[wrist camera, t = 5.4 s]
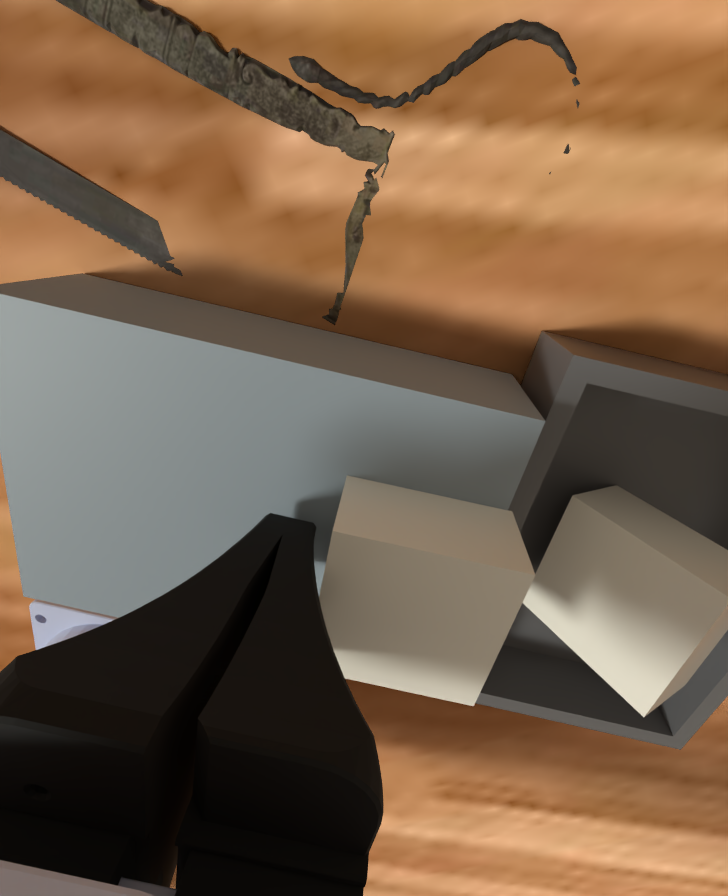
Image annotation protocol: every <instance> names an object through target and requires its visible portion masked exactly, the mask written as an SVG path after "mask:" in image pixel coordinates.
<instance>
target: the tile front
mask: <svg viewBox="0 0 728 896" xmlns="http://www.w3.org/2000/svg"><path fill="white" fill-rule="evenodd" d="M534 577H535V572H534V570H533V567H532V564H531V561H530V559H529V556H528V553H527V550H526V548H525V545H524V542H523V539H522V537H521V534H520V531H519V528H518V526H517V523H516V520H515V517H514V515H513V512H512V511H508V510H504V509H499V508H494V507H490V506H485V505H481V504H476V503H471V502H467V501H462V500H458V499H453V498H448V497H444V496H439V495H435V494H430V493H425V492H421V491H416V490H412V489H407V488H403V487H398V486H393V485H389V484H384V483H380V482H375V481H370V480H366V479H361V478H357V477H352V476H347V477H346V481H345V485H344V488H343V492H342V496H341V500H340V504H339V508H338V512H337V515H336V519H335V523H334V527H333V531H332V536H331V541H330V546H329V550H328V555H327V560H326V565H325V570H324V575H323V580H322V585H321V590H320V595H319V600H320V605H321V609H322V613H323V617H324V621H325V625H326V628H327V632H328V635H329V638H330V641H331V644H332V647H333V650H334V653H335V655H336V658H337V660H338V663H339V665H340V668H341V670H342V673H343V675H344V678H345V679H350V680H354V681H359V682H364V683H368V684H373V685H378V686H382V687H387V688H391V689H396V690H401V691H405V692H410V693H414V694H419V695H424V696H428V697H433V698H438V699H442V700H447V701H451V702H456V703H461V704H465V705H470V706H474V705H475V702H476V700H477V698H478V696H479V694H480V692H481V690H482V688H483V685H484V683H485V681H486V679H487V677H488V675H489V673H490V671H491V669H492V666H493V664H494V662H495V660H496V658H497V656H498V654H499V652H500V649H501V647H502V645H503V643H504V641H505V639H506V637H507V635H508V632H509V630H510V628H511V626H512V624H513V622H514V620H515V618H516V615H517V613H518V611H519V609H520V607H521V605H522V603H523V601H524V598H525V596H526V594H527V592H528V590H529V588H530V586H531V584H532V581H533V579H534Z"/></svg>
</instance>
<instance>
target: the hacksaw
mask: <svg viewBox="0 0 728 896" xmlns="http://www.w3.org/2000/svg"><path fill="white" fill-rule="evenodd" d="M56 1H58V2H59V3H61V4H63V5H65V6H66V7H68V8H70V9H71V10H73V11H75V12H77V13H78V14H80V15H82V16H83V17H85V18H87V19H89V20H90V21H92V22H94V23H95V24H97V25H99V26H101V27H102V28H104V29H106V30H107V31H109V32H111V33H113V34H115V35H117V36H118V37H120V38H121V39H122V40H124V41H126V42H128V43H129V44H131V45H133V46H135V47H137V48H140V49H141V50H142V51H143V52H144V53H146V54H148V55H150V56H152V57H154V58H156V59H158V60H159V61H161V62H163V63H164V64H166V65H168V66H169V67H171V68H172V69H174V70H176V71H178V72H179V73H181V74H183V75H185V76H187V77H189V78H190V79H192V80H194V81H196V82H198V83H200V84H201V85H203V86H205V87H207V88H209V89H211V90H213V91H214V92H216V93H218V94H220V95H222V96H224V97H226V98H228V99H229V100H231V101H233V102H235V103H236V104H238V105H240V106H242V107H244V108H246V109H248V110H251V111H253V112H255V113H257V114H259V115H261V116H263V117H265V118H267V119H269V120H271V121H273V122H275V123H277V124H279V125H281V126H284V127H286V128H289V129H292V130H295V131H298V132H301V131H302V130H303V131H304V132H306V133H307V134H309V136H310V138H311V139H313V140H314V141H316V142H319V143H321V144H323V145H326V146H335V147H338V148H340V149H341V151H342V152H344V151H345V152H346V154H347V155H348V156H350V157H352V158H354V159H356V160H362V161H369V162H374V163H376V164H378V166H377V167H376V168H375V169H374V170H373V169H368V170H367V172H366V174H365V176H366V178H367V180H368V181H367V182H364V187H365V189H364V190H362V191H360V192H358V197H357V199H356V202H355V204H354V206H353V209H352V211H351V213H350V216H349V218H348V220H347V223H346V229H345V240H346V267H345V280H344V293H337V297H336V301H335V305H334V307H333V309H329V315H326V316H323V318H324V319H326V320H327V321H329V322H330V323H332V324H334V325H335V323H336V321H337V318H338V314H339V310H340V309H341V308H340V306H341V303H342V301H343V298H344V295H345V292H346V289H347V286H348V283H349V280H350V277H351V274H352V271H353V268H354V265H355V262H356V259H357V256H358V253H359V250H360V247H361V244H362V241H363V227H362V223H363V221H364V218H365V216H366V215H371V211H370V201H371V200H372V198H373V197H374V196H375V195H376V193H377V192H378V191H379V186H378V182H377V179H376V178H375V180H374V178H373V176H372V174H371V173H372V172H373V171H374V173H375V174H376V172H377V171H378V170H379V168H380V167H381V166H382V165H383V163H384V162H385V163H386V166H385V168H384V171H383V173H382V176H381V177H382V178H383V175H384V172H385V170H386V168H387V165H388V162H389V159H388V154H387V153H388V151H389V148H390V145H391V143H392V140H393V138H394V135H395V134H394V132H393V131H392V132H391V133H388V132H387V131H386V130H385V129H384V128H383V129H382V130H379V129H377V128H375V127H373V126H360V125H359V124H358V123H357V121H356V119H355V117H354V116H353V115H352V114H351V113H349V112H347V111H346V110H344V109H342V108H336V107H334V106H332V105H330V104H329V103H327V102H325V101H324V100H323V99H322V98H320V97H318V96H317V95H315V94H314V93H312V92H311V91H309V90H307V89H306V88H304V87H302V86H301V85H299V84H297V83H295V82H294V81H292V80H291V79H289V78H287V77H285V76H284V75H282V74H280V73H278V72H276V71H275V70H273V69H271V68H269V67H267V66H266V65H264V64H262V63H260V62H258V61H256V60H255V59H252V58H250V57H247V56H245V55H244V53H242V54H241V55H240V56H239V55H238V50H237V48H232V49H231V51H230V52H229V53H228V54H227V53H226V52H225V51H223V50H222V49H221V48H220V47H219V46H218V44H217V43H216V41H215V40H214V38H213V37H212V36H211V35H210V34H208V33H207V32H205V31H204V32H199V31H198V30H197V29H196V28H195V27H194V26H193V25H192V24H190V23H189V22H187V21H186V20H184V19H183V18H182V17H180V16H178V15H176V14H174V13H172V12H170V11H169V10H167V9H166V8H165V7H163V6H159V5H154V4H152V3H151V2H149V1H147V0H56ZM515 38H516V39H518V40H529V39H532V40H534V41H536V42H538V43H541V44H545V45H548V46H550V47H551V48H552V49H553V51H554V52H555V53H556V54H557V55H558V56H559V57H561V58H563V59H564V61H565V63H566V66H567V69H568V70H569V71H570V73H572V74H575V75H576V69H577V67H576V65H575V63H574V61H573V59H572V56H571V54H570V52H569V50H568V49H567V47H566V46H565V44H564V42H563V40H562V38H561V37H560V35H559V33H558V32H556V31H554V30H552V29H550V28H548V27H546V26H544V25H542V24H540V23H539V22H528V21H525V20H522V19H520V20H518V21H516V22H514V23H505V24H503V25H501V26H499V27H498V28H496V29H495V30H493V31H491V32H489V33H487V34H486V35H484V36H483V37H481V38H480V39H478V40H477V41H476V42H475V43H474V44H473V46H472V47H471V48H470V49H468V50H466V51H464V52H463V53H462V54H461V55H460V56H459V57H458V59H457V60H456V61H453V62H451V63H449V64H448V65H447V66H446V67H445V68H444V69H443V71H442V72H441V73H440V74H437V75H434V76H432V77H431V78H430V79H429V80H428V81H427V82H425V83H424V84H422V85H420V86H418V87H417V88H415V89H414V90H413V92H412V93H411V95H410V97H409V94H408V93H407V92H404V93H402V94H401V95H400V96H398V97H397V98H396V99H393V98H391V97H390V96H383V97H379V98H378V97H377V96H376V95H375V94H374V93H363V92H362V91H361V90H360V89H359V88H357V87H353V86H350V85H348V84H347V83H345V82H343V81H342V80H340V79H338V78H337V77H335V76H334V75H332V74H331V73H329V72H328V71H326V70H324V69H322V68H321V67H320V65H319V64H318V63H317V62H316V61H315V60H314V59H311V58H308V57H305V56H294V57H291V58H289V61H290V63H291V66H292V68H293V70H294V71H295V73H296V74H297V75H298V76H299V77H300V78H302V79H303V80H305V81H306V82H309V83H319V84H320V85H321V86H322V87H323V88H326V89H329V90H332V91H335V92H336V93H338V94H339V95H341V96H344V97H349V98H354V99H355V100H356V101H357V102H358V103H365V104H366V103H371V104H372V106H373V107H374V108H376V109H377V108H381V107H386V106H390V107H393V108H397V107H400V106H402V105H403V104H404V103H406V102H407V101H409V102H413V103H414V101H415V100H416V99H417V98H418V97H419V96H420V95H422V94H424V95H429V94H430V92H431V91H432V90H433V89H434V88H435V87H437V86H440V85H442V84H445V83H446V82H447V81H448V80H449V79H450V78H451V77H452V76H457V75H458V74H459V73H460V72H461V71H462V70H463V69H464V68H466V67H468V66H469V65H471V64H472V63H474V62H475V61H476V60H478V59H479V58H480V57H481V56H482V55H484V54H485V53H486V52H487V51H490V50H492V49H494V48H496V47H497V46H499V45H501V44H502V43H504V42H507V41H509V40H512V39H515ZM572 81H573V84H574V86H576V85H578V84H580V83H579V81H578V79H577V78H576V77H575V78H574V79H572ZM576 103H577V107H578V106H579V102H578V100H577V102H576ZM569 151H570V150H569V144H568V145H567V147H566V149H565V151H564V153H565V154H568V153H569ZM550 173H551V172H550ZM550 173H549V174H550ZM0 177H4V179H5V181H11V183H12V184H13V185H18V186H19V188H20V189H25V191H26V192H27V193H31V194H32V195H33V196H34V197H39V198H40V200H41V201H43V200H45V201H46V203H47V204H52V205H53V206H54V208H59V209H60V210H61V212H66V213H67V215H68V216H73V217H74V219H75V220H80V221H81V223H82V224H87V225H88V227H92V228H94V230H95V231H100V232H101V234H102V235H107V237H108V238H110V239H114V241H115V242H120V244H121V246H126V247H127V248H128V249H129V250H133V251H134V253H139V254H140V256H141V257H146V259H147V260H152V262H153V263H154V264H156V263H158V265H159V266H160V267H164V268H165V269H166V270H167V271H172V272H174V273H175V274H178V275H181V276H183V275H182V273H181V271H180V270H179V269H177V268H175V267H174V264H171V263H167V262H165V261H169V260H172V259H174V258H173V257H171V256H170V254H169V251H168V248H167V246H166V243H165V240H164V237H163V234H162V232H161V229H160V226H159V223H158V221H157V220H155V219H153V218H152V217H150V216H148V215H146V214H145V213H143V212H141V211H140V210H138V209H136V208H134V207H133V206H131V205H129V204H128V203H126V202H124V201H122V200H121V199H119V198H117V197H116V196H114V195H112V194H110V193H109V192H107V191H105V190H104V189H102V188H100V187H98V186H97V185H95V184H93V183H92V182H90V181H88V180H86V179H85V178H83V177H81V176H80V175H78V174H76V173H74V172H73V171H71V170H69V169H68V168H66V167H64V166H62V165H61V164H59V163H57V162H56V161H54V160H52V159H50V158H49V157H47V156H45V155H44V154H42V153H40V152H38V151H37V150H35V149H33V148H32V147H30V146H28V145H26V144H25V143H23V142H21V141H20V140H18V139H16V138H14V137H13V136H11V135H9V134H8V133H6V132H4V131H2V130H1V129H0Z"/></svg>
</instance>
